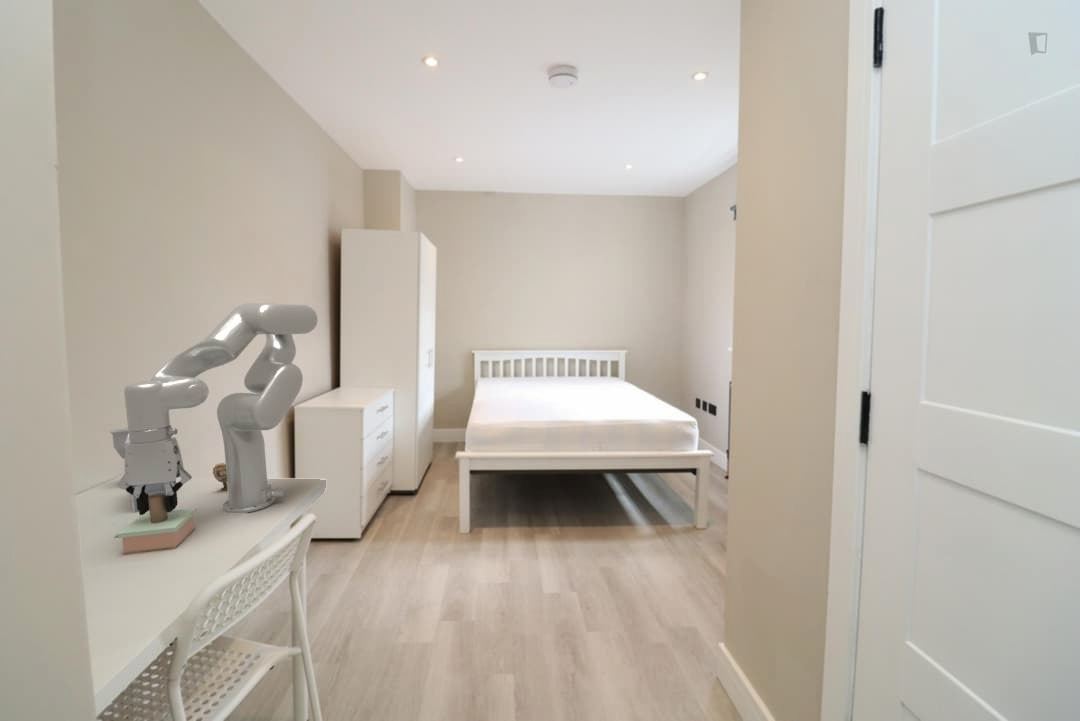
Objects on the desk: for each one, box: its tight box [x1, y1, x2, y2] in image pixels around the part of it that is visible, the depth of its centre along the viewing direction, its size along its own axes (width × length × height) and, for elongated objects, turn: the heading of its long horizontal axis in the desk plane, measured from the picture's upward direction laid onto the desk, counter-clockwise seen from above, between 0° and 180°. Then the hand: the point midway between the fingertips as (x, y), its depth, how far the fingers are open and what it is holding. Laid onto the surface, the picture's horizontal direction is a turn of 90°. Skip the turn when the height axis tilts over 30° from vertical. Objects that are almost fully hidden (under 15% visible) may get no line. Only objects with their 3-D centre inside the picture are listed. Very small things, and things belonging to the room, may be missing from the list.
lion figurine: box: [212, 462, 228, 491], centre depth 150 cm, size 15×5×9 cm, turn 162°
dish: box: [121, 514, 196, 555], centre depth 114 cm, size 10×10×4 cm
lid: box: [117, 493, 197, 539], centre depth 114 cm, size 11×11×7 cm
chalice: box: [109, 426, 129, 460], centre depth 151 cm, size 7×7×18 cm
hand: (158, 510), depth 114 cm, fingers open, 4 cm apart
